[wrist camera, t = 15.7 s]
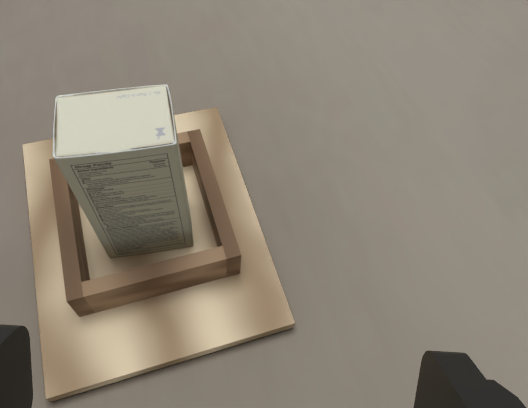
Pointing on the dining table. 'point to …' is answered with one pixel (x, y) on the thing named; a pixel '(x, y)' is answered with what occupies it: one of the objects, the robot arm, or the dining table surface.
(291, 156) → the dining table surface
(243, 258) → the carrier plate
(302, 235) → the dining table surface
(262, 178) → the dining table surface
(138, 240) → the skincare box
